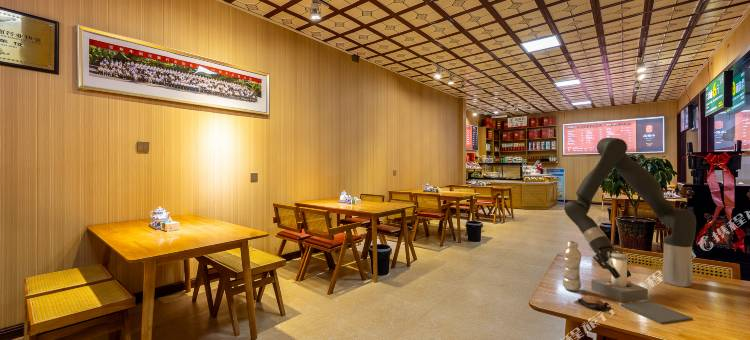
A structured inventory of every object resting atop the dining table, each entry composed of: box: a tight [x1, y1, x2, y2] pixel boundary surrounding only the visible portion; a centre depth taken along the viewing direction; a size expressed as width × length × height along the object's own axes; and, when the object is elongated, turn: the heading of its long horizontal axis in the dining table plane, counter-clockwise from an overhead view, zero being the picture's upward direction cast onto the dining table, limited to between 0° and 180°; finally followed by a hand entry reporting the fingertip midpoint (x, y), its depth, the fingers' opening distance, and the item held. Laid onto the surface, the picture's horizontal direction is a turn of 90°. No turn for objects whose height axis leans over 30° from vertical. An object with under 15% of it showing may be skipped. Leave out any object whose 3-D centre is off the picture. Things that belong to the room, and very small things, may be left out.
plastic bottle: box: [562, 240, 582, 292], centre depth 137 cm, size 6×7×20 cm
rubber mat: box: [619, 300, 693, 325], centre depth 117 cm, size 14×14×1 cm
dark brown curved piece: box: [573, 294, 612, 313], centre depth 123 cm, size 11×8×4 cm
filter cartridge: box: [610, 252, 629, 288], centre depth 133 cm, size 6×6×16 cm
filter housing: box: [590, 277, 649, 303], centre depth 133 cm, size 13×13×5 cm
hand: (623, 276), depth 132 cm, fingers closed on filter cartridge, 5 cm apart
